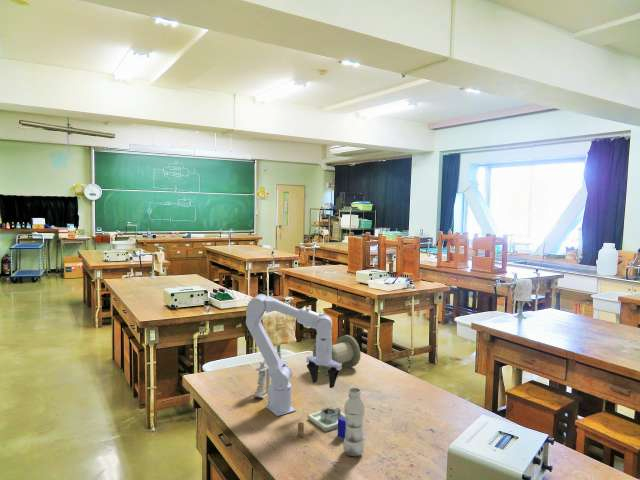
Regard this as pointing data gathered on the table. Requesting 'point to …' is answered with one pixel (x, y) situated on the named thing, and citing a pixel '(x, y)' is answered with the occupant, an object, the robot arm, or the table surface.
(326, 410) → the grey octagonal ring
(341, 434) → the cable clip
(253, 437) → the table surface
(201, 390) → the table surface
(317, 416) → the tray
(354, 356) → the spool
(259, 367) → the white figurine
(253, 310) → the robot arm
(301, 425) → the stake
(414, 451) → the table surface
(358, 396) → the plastic bottle
